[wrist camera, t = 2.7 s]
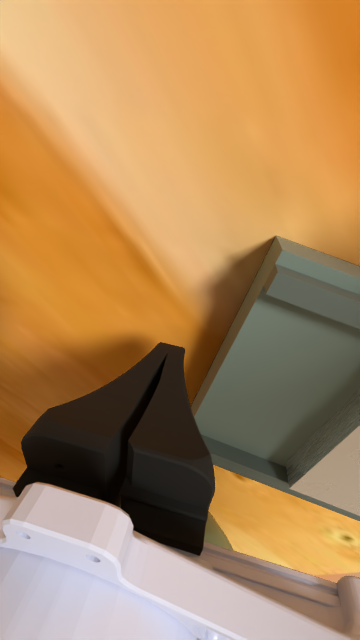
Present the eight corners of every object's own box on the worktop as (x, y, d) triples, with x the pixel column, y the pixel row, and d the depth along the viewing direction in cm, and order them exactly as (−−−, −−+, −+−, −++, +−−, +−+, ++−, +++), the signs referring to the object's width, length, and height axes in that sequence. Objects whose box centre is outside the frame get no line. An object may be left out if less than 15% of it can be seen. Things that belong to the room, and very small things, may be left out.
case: (558, 339, 12) (657, 394, 9) (362, 481, 20) (382, 536, 17) (276, 235, 13) (285, 257, 10) (187, 413, 20) (177, 456, 17)
